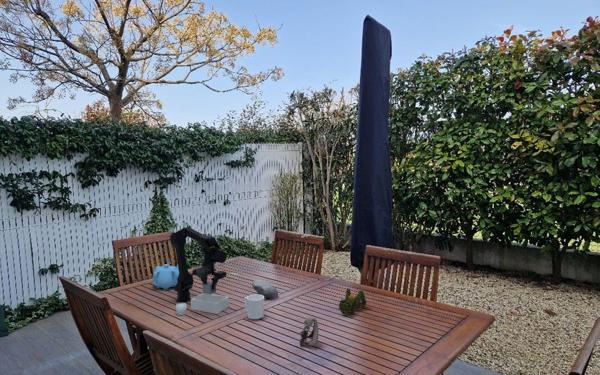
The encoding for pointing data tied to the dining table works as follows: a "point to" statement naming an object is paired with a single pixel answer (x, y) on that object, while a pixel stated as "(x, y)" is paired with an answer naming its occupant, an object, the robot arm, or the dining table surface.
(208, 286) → the metal block
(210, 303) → the tote
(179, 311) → the jar
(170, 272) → the teapot
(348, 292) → the toy
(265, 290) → the rock
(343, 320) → the dining table surface
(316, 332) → the toy
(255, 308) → the mug
